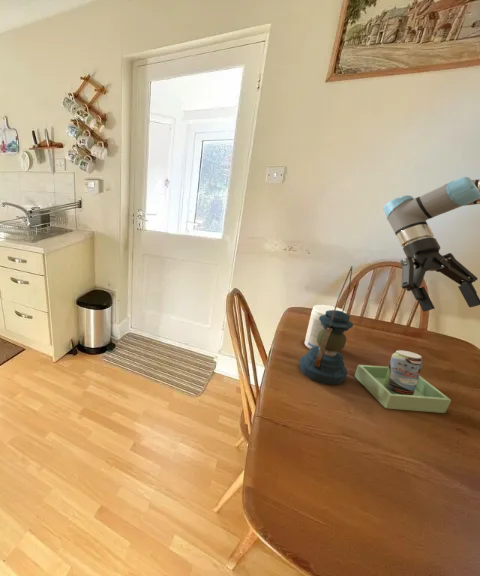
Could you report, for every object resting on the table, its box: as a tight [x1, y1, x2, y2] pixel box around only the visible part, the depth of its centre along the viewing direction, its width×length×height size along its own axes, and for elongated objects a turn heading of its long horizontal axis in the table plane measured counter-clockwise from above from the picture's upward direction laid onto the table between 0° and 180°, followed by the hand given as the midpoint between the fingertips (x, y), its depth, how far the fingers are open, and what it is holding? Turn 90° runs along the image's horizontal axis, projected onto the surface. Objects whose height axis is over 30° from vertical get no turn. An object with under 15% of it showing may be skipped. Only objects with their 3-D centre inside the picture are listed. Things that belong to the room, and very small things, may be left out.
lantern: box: [299, 265, 354, 386], centre depth 90 cm, size 14×12×35 cm
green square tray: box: [354, 364, 452, 414], centre depth 87 cm, size 14×14×4 cm
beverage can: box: [384, 349, 424, 395], centre depth 85 cm, size 6×7×12 cm
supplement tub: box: [304, 304, 347, 350], centre depth 108 cm, size 10×10×15 cm
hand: (452, 308), depth 89 cm, fingers open, 13 cm apart
